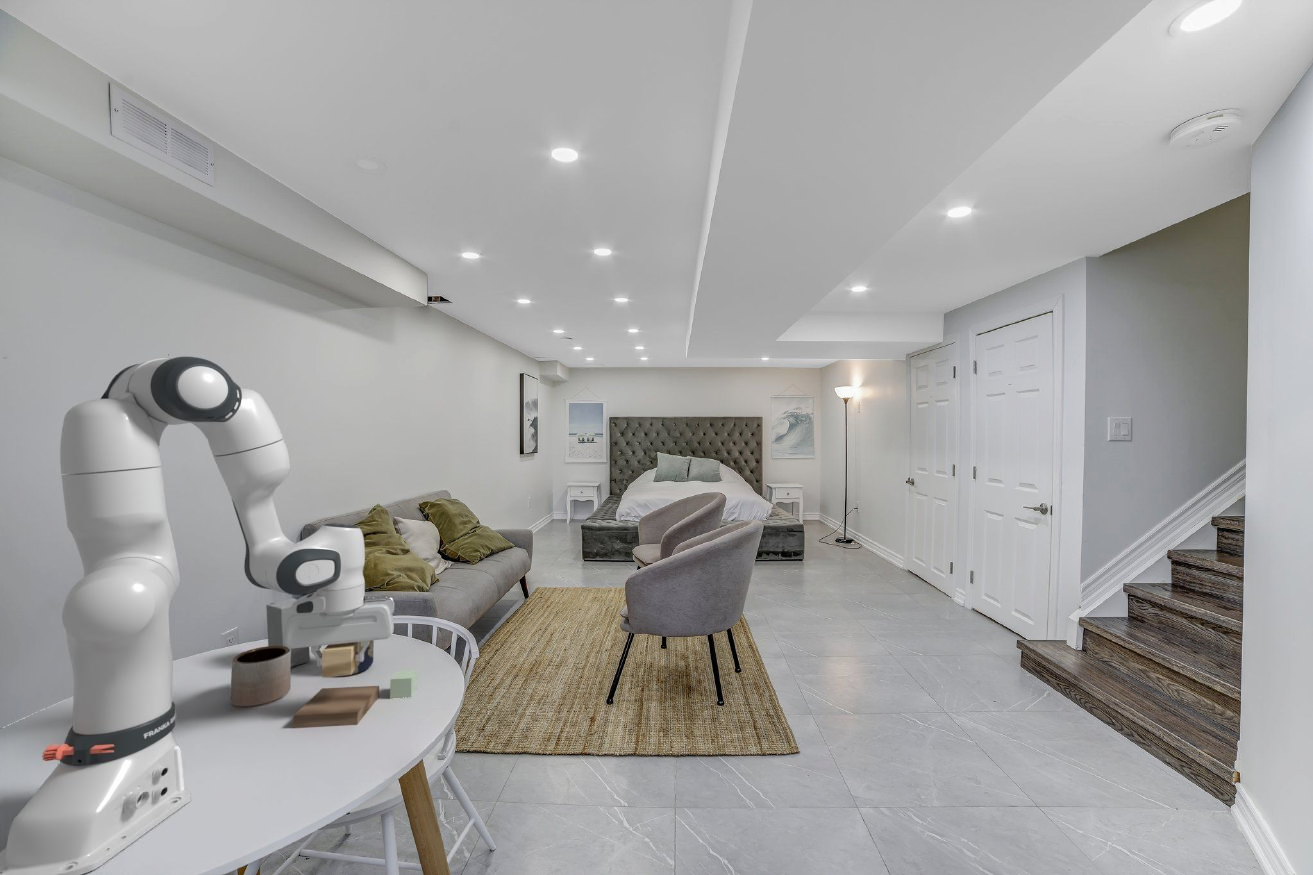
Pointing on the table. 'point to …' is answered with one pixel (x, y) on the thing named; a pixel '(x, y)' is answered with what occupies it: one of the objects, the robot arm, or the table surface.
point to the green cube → (403, 684)
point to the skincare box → (283, 629)
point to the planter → (260, 676)
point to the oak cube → (339, 659)
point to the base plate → (337, 707)
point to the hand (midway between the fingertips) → (341, 663)
